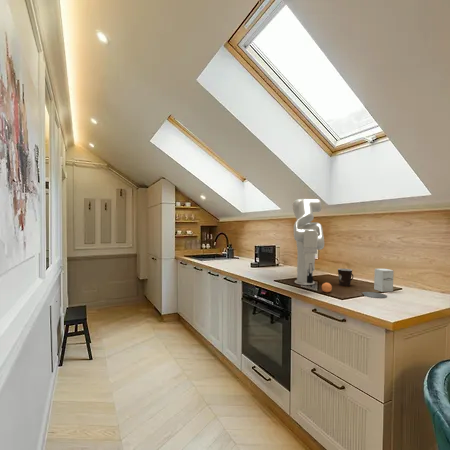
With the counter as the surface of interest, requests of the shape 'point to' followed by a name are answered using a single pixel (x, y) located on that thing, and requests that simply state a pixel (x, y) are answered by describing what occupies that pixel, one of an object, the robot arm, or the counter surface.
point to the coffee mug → (345, 277)
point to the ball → (326, 287)
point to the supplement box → (383, 280)
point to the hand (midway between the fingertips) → (309, 282)
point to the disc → (374, 295)
